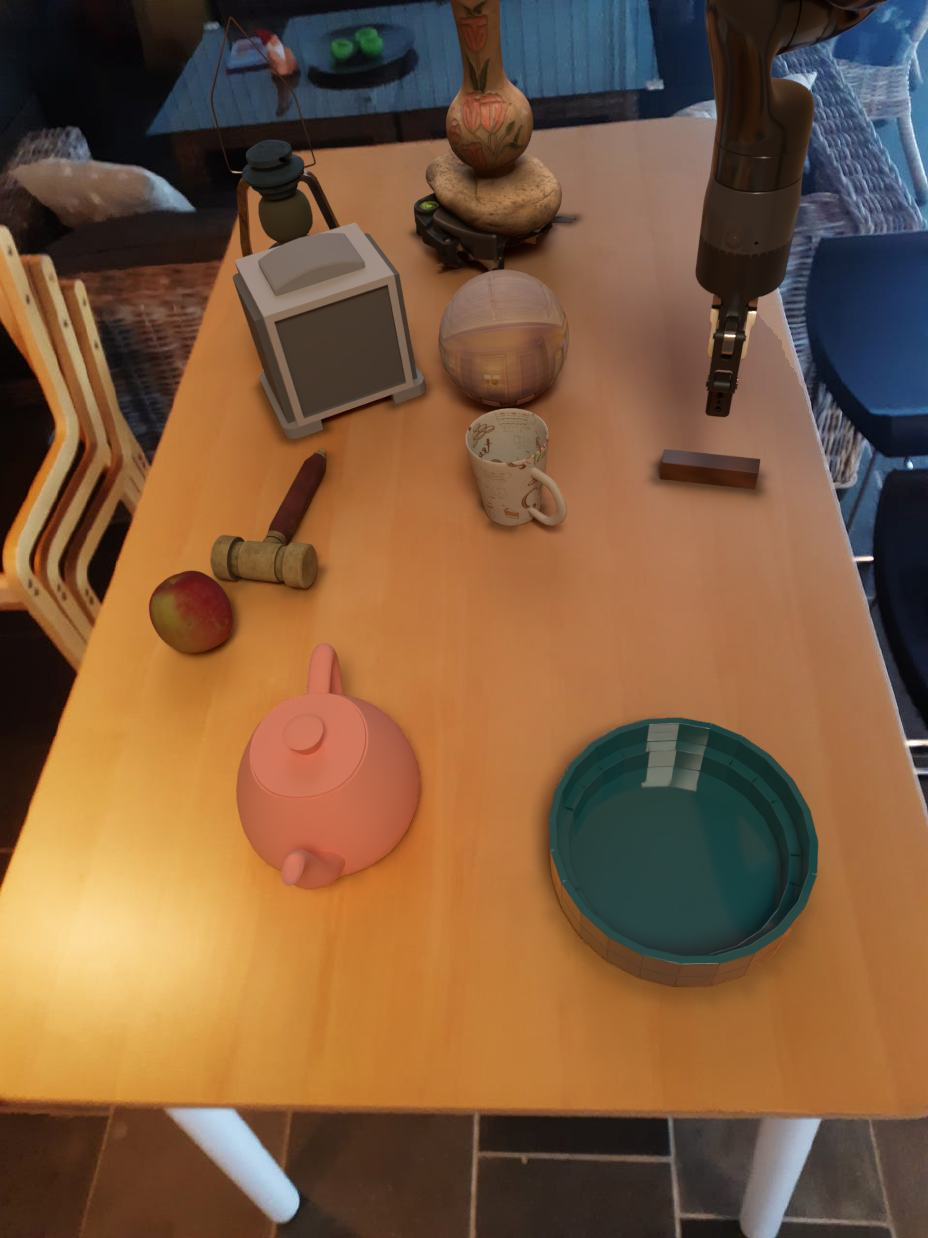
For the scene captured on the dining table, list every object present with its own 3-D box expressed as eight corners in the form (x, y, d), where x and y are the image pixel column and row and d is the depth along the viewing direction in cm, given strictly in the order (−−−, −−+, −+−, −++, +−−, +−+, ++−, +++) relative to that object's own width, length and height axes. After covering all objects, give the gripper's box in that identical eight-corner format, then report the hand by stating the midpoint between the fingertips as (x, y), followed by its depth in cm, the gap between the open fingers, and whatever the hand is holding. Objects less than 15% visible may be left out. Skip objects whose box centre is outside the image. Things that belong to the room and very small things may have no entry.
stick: (756, 475, 94) (760, 458, 92) (755, 489, 93) (758, 472, 91) (662, 465, 97) (664, 448, 95) (659, 478, 96) (661, 462, 94)
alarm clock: (392, 338, 117) (366, 202, 102) (428, 392, 109) (406, 253, 94) (260, 382, 114) (214, 249, 99) (288, 442, 106) (242, 306, 91)
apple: (242, 599, 91) (217, 547, 85) (243, 661, 86) (216, 610, 80) (169, 613, 91) (139, 562, 85) (166, 677, 86) (133, 627, 80)
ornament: (592, 376, 107) (594, 262, 96) (524, 448, 101) (517, 335, 89) (492, 342, 114) (482, 231, 102) (422, 408, 107) (402, 297, 95)
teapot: (421, 938, 68) (395, 878, 58) (231, 947, 69) (174, 889, 59) (426, 697, 81) (405, 616, 72) (266, 708, 82) (225, 629, 73)
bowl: (806, 778, 72) (822, 742, 68) (794, 1020, 62) (812, 996, 57) (576, 735, 77) (576, 699, 72) (526, 953, 66) (523, 926, 61)
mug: (513, 469, 99) (507, 397, 91) (596, 523, 92) (598, 450, 85) (458, 508, 96) (448, 437, 88) (541, 567, 90) (537, 496, 82)
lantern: (361, 273, 127) (302, -11, 100) (353, 320, 120) (287, 29, 93) (266, 281, 129) (181, 3, 101) (252, 328, 121) (157, 43, 94)
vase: (393, 279, 125) (342, -8, 98) (431, 200, 138) (395, -73, 111) (557, 285, 120) (552, -17, 93) (580, 202, 133) (581, -84, 106)
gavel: (279, 430, 102) (360, 436, 100) (288, 461, 105) (367, 468, 103) (204, 556, 89) (296, 566, 87) (217, 587, 92) (306, 597, 90)
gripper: (790, 276, 68) (755, 438, 81) (799, 184, 76) (766, 345, 89) (690, 270, 70) (672, 430, 82) (710, 181, 78) (690, 339, 91)
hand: (721, 385), depth 86 cm, fingers open, 8 cm apart
